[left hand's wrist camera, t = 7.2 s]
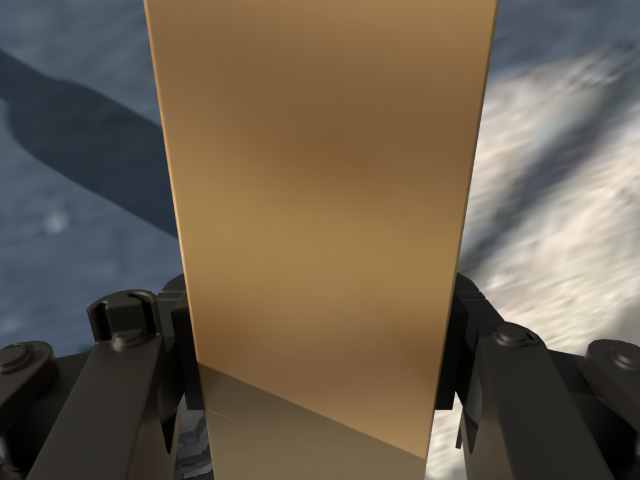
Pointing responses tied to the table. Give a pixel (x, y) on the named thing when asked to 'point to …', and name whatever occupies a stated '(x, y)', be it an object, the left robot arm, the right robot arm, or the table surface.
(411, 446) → the beam
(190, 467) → the toy
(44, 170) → the table surface
